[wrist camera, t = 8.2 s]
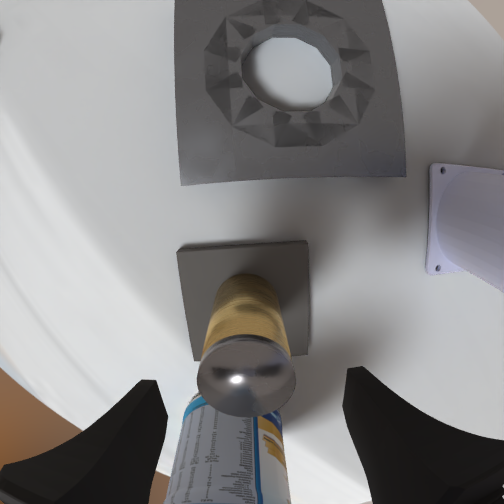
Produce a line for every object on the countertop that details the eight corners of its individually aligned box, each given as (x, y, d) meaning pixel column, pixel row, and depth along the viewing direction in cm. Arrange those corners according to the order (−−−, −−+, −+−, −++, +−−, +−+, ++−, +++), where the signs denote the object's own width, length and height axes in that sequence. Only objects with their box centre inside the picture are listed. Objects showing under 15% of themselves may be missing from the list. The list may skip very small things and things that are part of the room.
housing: (369, 3, 14) (379, -9, 13) (391, 175, 18) (406, 176, 16) (181, 2, 14) (175, -12, 13) (187, 184, 18) (180, 185, 16)
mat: (305, 240, 19) (308, 243, 18) (305, 348, 21) (307, 354, 20) (179, 248, 19) (176, 252, 18) (195, 355, 21) (194, 361, 20)
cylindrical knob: (279, 273, 19) (299, 343, 11) (276, 330, 20) (291, 416, 12) (213, 273, 19) (192, 343, 11) (216, 330, 20) (201, 416, 12)
